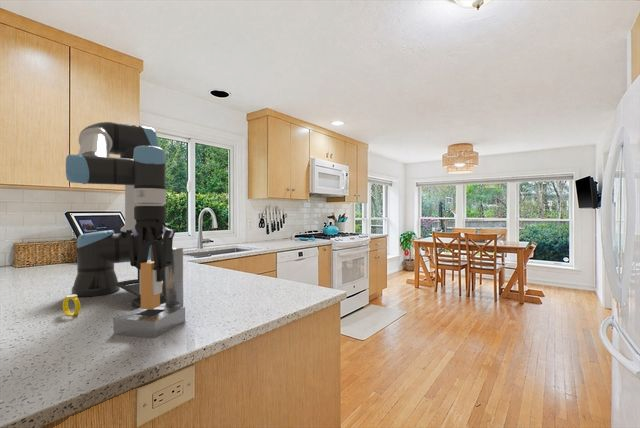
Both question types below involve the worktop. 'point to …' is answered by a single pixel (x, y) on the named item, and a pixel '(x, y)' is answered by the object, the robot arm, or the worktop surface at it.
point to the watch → (76, 302)
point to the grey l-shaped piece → (162, 316)
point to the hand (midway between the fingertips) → (151, 293)
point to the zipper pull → (136, 292)
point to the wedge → (148, 287)
